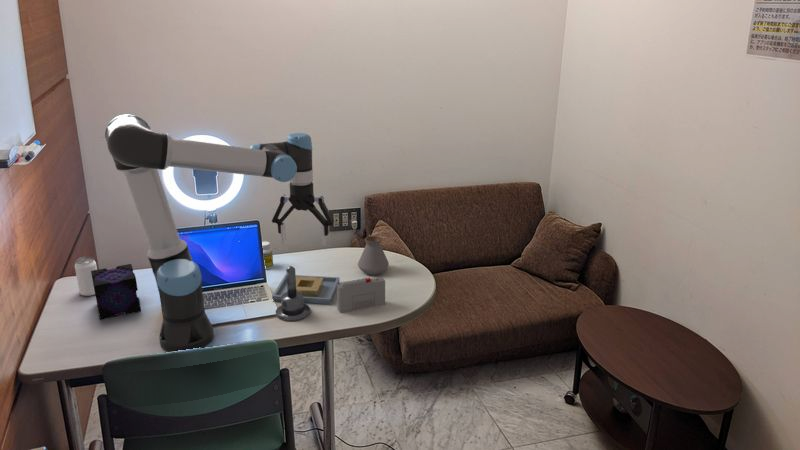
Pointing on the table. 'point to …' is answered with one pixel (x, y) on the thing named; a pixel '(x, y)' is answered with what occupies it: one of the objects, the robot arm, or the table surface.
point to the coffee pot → (373, 255)
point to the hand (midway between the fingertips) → (303, 243)
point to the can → (85, 275)
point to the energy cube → (115, 291)
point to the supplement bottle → (267, 255)
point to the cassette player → (360, 294)
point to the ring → (309, 286)
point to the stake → (292, 301)
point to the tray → (323, 298)
